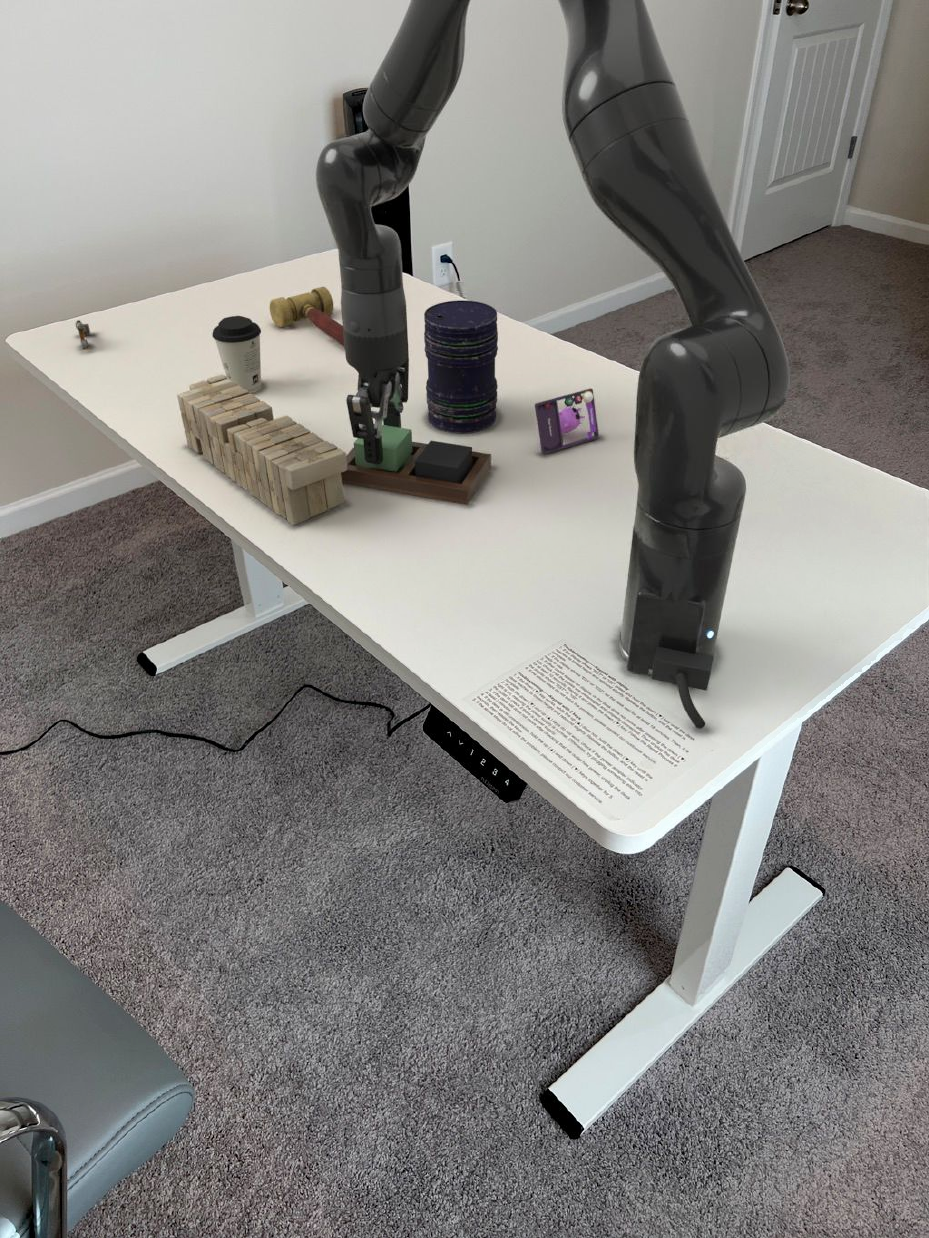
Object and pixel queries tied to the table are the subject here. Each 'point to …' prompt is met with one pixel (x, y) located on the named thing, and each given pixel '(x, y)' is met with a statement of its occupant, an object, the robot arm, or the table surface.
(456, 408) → the navy oil drum
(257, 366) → the coffee cup
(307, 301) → the gavel
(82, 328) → the wooden post with brackets
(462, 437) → the table surface
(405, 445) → the sage pad
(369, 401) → the robot arm
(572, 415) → the game card
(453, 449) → the charcoal pad
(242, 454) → the block tower
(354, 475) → the divided wooden tray
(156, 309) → the table surface
